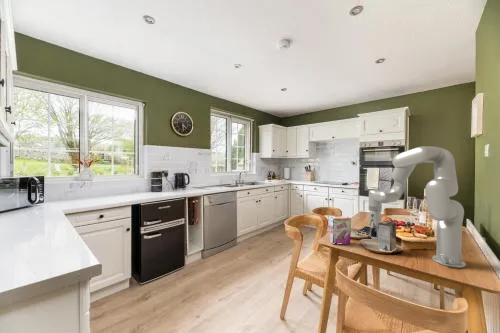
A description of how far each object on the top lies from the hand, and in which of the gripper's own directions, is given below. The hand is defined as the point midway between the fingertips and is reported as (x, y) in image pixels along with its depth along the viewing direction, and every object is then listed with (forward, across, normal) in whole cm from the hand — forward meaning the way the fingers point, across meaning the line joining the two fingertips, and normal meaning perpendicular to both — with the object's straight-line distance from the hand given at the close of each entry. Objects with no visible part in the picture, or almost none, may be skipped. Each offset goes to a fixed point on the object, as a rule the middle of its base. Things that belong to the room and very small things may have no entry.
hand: (374, 235), depth 149 cm
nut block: (+2, 0, 0) cm, 2 cm away
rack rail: (+2, +9, +8) cm, 12 cm away
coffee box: (+2, -18, -12) cm, 21 cm away
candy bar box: (+2, -25, +12) cm, 28 cm away
